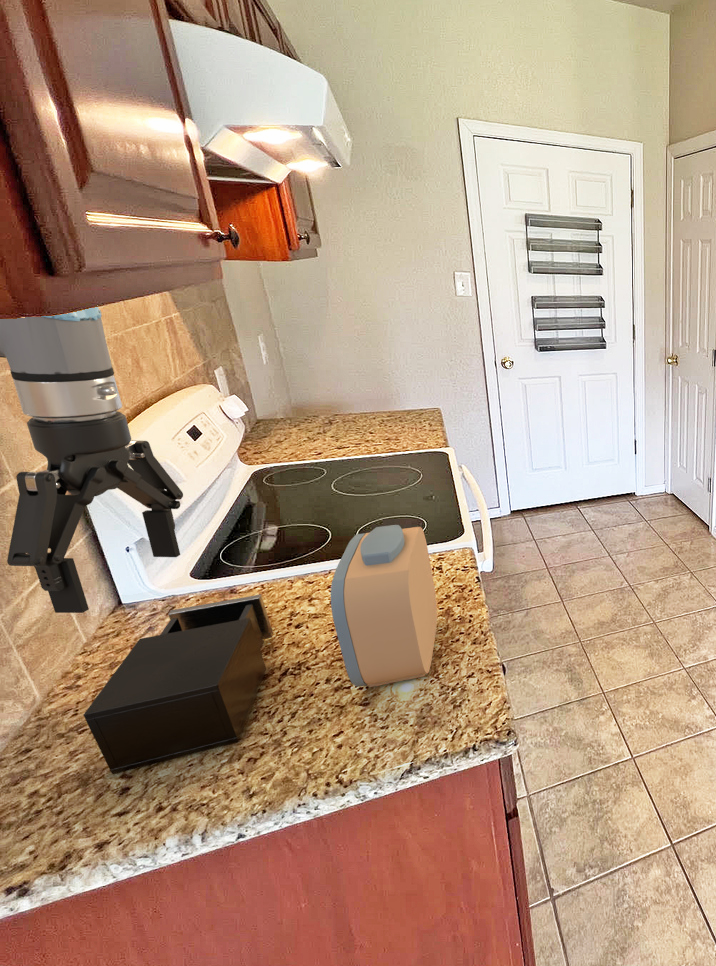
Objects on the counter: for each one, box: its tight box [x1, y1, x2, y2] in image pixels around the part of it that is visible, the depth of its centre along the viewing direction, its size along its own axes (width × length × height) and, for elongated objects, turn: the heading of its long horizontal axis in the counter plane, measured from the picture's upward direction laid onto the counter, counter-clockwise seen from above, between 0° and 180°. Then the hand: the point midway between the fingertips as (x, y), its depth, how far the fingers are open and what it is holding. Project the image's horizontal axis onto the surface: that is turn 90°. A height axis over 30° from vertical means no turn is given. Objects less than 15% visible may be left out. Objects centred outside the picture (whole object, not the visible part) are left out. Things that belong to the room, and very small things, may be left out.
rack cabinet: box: [83, 618, 267, 775], centre depth 78 cm, size 16×13×10 cm
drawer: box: [159, 593, 274, 651], centre depth 88 cm, size 19×11×8 cm, turn 25°
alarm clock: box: [330, 524, 438, 688], centre depth 88 cm, size 21×10×22 cm, turn 20°
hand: (124, 581), depth 71 cm, fingers open, 13 cm apart
